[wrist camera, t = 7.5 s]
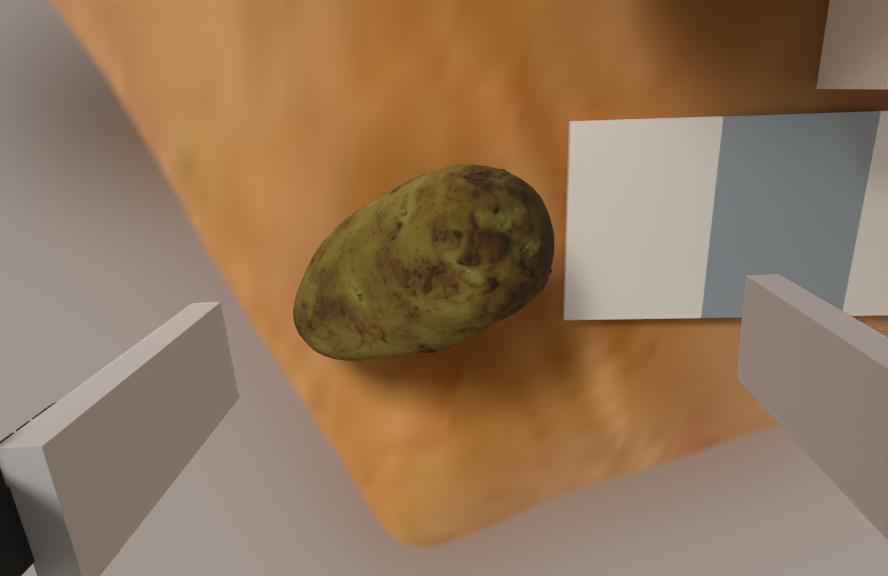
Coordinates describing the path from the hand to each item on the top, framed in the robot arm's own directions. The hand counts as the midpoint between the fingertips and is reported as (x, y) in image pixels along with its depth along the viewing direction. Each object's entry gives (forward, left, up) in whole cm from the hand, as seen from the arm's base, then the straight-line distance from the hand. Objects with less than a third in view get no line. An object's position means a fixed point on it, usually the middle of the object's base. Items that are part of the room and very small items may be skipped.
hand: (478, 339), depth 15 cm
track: (+1, +15, -16) cm, 22 cm away
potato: (+2, -3, -16) cm, 16 cm away
